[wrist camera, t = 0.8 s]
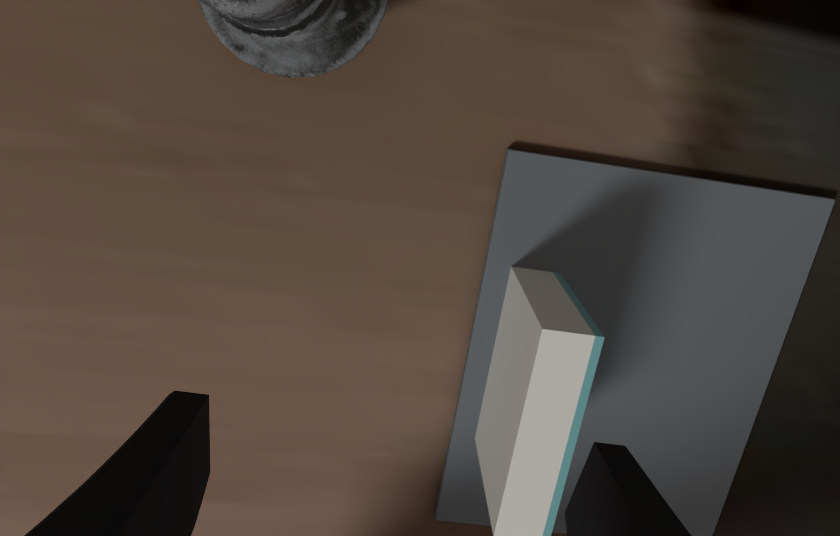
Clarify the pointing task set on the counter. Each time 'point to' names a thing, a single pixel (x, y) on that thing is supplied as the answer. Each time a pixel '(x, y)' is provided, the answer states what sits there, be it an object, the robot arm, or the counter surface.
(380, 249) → the counter surface
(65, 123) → the counter surface
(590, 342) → the tile
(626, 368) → the mat
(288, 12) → the dark grey upright figure
